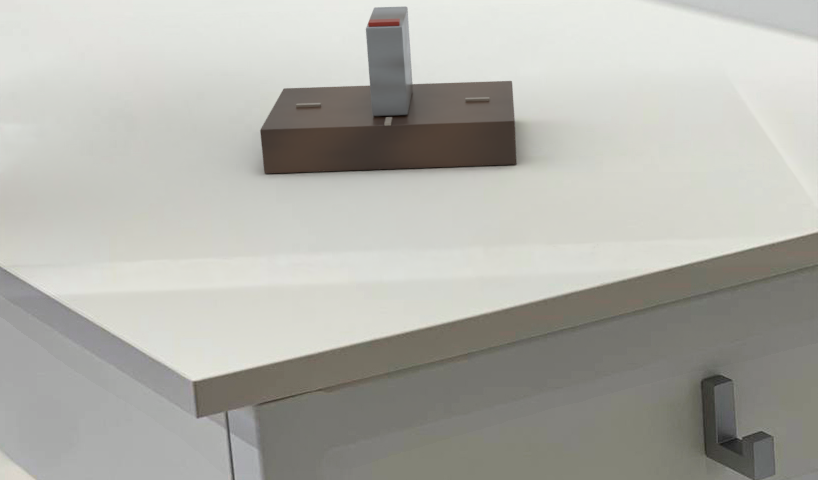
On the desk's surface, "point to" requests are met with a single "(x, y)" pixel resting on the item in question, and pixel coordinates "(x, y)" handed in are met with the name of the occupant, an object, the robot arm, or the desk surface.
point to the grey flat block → (389, 61)
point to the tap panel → (390, 129)
